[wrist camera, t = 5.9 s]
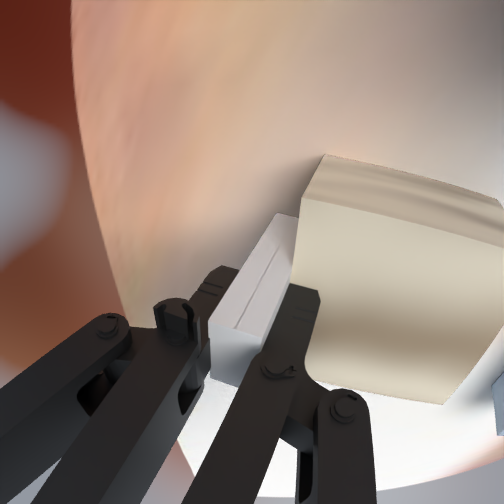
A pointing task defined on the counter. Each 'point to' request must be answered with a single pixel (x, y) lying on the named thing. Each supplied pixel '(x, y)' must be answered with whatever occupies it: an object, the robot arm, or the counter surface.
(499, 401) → the blue-grey bar
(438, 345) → the block
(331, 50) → the counter surface
